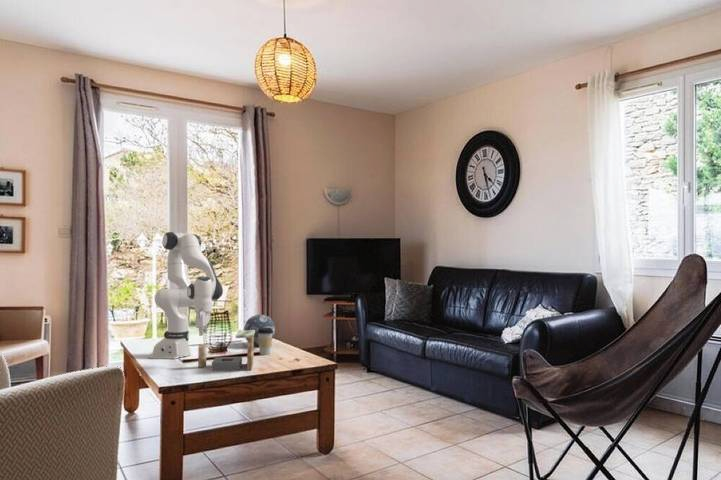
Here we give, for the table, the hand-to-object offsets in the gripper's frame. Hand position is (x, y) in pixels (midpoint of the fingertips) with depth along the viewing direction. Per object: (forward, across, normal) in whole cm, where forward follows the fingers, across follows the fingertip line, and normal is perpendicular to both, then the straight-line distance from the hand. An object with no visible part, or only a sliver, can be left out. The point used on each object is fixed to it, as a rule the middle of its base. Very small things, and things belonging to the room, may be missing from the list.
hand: (202, 334), depth 258 cm
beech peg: (+18, 0, 0) cm, 18 cm away
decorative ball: (+17, +54, -26) cm, 63 cm away
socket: (+18, -1, -13) cm, 22 cm away
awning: (+18, -1, -22) cm, 28 cm away
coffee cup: (+18, +29, -31) cm, 46 cm away
